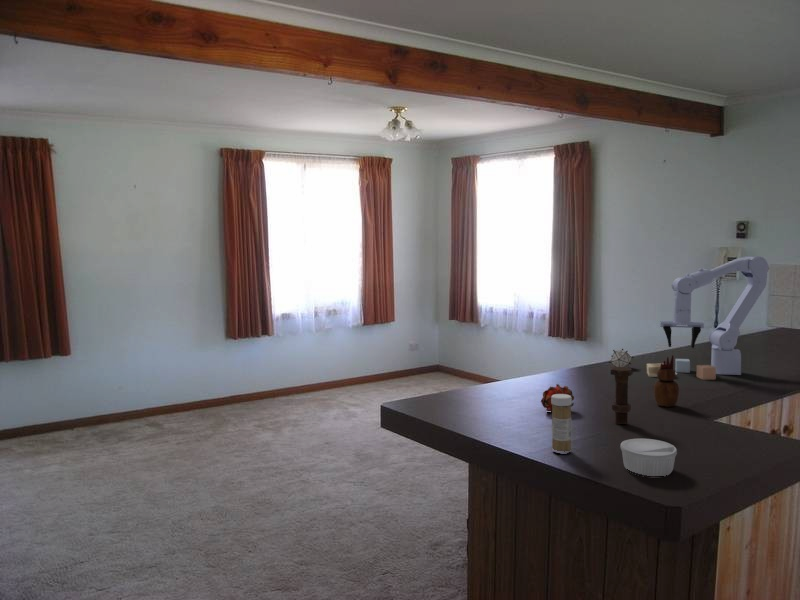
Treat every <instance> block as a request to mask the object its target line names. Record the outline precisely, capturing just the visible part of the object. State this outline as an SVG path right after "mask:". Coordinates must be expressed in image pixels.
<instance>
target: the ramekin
mask: <svg viewBox="0 0 800 600" xmlns="http://www.w3.org/2000/svg"><path fill="white" fill-rule="evenodd" d="M620 450H621V453H622V454H621V455H622V461H623V466H624V468H625V469H626V470H627V469H628V470H630V471H632V472H635V473H638V474H642V475H647V476H664V477H667V476H669V475H670V474H671V473H672V472H673V470H674V466H675V461H676V460H675V459H676V456H677V454H678V449H677V448H676V447H675V445H673V444H671V443H669V442H667V441H663V440H659V439H652V438H641V437H640V438H630V439H625V440H623V441H622V442H621V443H620ZM628 470H627V471H628ZM666 475H667V476H666Z"/></svg>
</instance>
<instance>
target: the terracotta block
mask: <svg viewBox="0 0 800 600" xmlns="http://www.w3.org/2000/svg"><path fill="white" fill-rule="evenodd" d="M716 375H717V374H716V367H714V366H711V364H697V365H696V378H698V379H700V380H716V378H717V377H716Z"/></svg>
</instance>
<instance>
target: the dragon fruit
mask: <svg viewBox="0 0 800 600" xmlns="http://www.w3.org/2000/svg"><path fill="white" fill-rule="evenodd" d="M555 394H567V395H570V396H571V397H572V401H574V400H575V396H574V395H573V391H572V390H571V389H570V388H569V387H568V386H566V385H564V386H563V387H562V386H560V384H558V383H557V384H556V386H550V387H549V388H548V389H546V390H544V391H543V392H542V398H541V400H540V403H541V405H542V407H543V408H545V409H546V410H545V411H551V412H552V403H551V397H552V395H555ZM574 405H575V403H574V402H572V404H571V408H572V407H573V406H574Z"/></svg>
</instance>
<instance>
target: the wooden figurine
mask: <svg viewBox="0 0 800 600" xmlns="http://www.w3.org/2000/svg"><path fill="white" fill-rule="evenodd" d="M660 363H661V366H660V369H659V370H658V372H657V377H656V378H658V380H656V381H655V382H654V384H653V396H654V401H655V402H656V404H657V405H658V406H660V407H663V406H665V408H670V407H674V406H676V404H677V402H678V399H679V395H680V393H679V392H680V387H679V384H678V383H677V382H676V381H674V380H676V379H675V378H676V374H675V372H676V370H675V369H674V355H671V359H669V356H667V357H666V361H665V360H663V364H662V362H660Z"/></svg>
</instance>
